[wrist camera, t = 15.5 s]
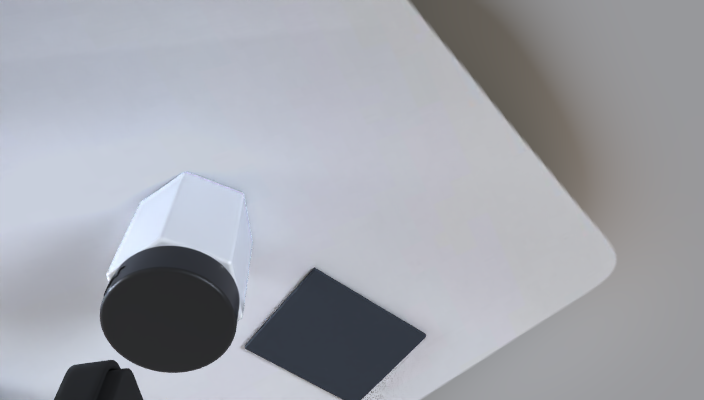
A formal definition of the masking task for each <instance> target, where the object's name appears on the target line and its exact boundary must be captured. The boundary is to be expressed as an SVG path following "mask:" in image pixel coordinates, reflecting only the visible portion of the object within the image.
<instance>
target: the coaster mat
mask: <svg viewBox="0 0 704 400" xmlns="http://www.w3.org/2000/svg"><path fill="white" fill-rule="evenodd" d="M425 337H426V334H425V333H423V332H421V331H420V330H418V329H416V328H415V327H413V326H411V325H410V324H408V323H406V322H405V321H403V320H401V319H400V318H398V317H396V316H395V315H393V314H391V313H390V312H388V311H386V310H385V309H383V308H381V307H380V306H378V305H376V304H374V303H373V302H371V301H369V300H368V299H366V298H364V297H363V296H361V295H359V294H358V293H356V292H354V291H353V290H351V289H349V288H348V287H346V286H344V285H343V284H341V283H339V282H338V281H336V280H334V279H333V278H331V277H329V276H328V275H326V274H324V273H323V272H321V271H319V270H318V269H316V268H314V269H313V270H312V271H311V272H310V273H309V274H308V275H307V277H306V278H305V279H304V280H303V281H302V282H301V283H300V284H299V286H298V287H297V288H296V289H295V290H294V291H293V292H292V293H291V295H290V296H289V297H288V298H287V299H286V300H285V301H284V303H283V304H282V305H281V306H280V307H279V308H278V309H277V310H276V312H275V313H274V314H273V315H272V316H271V317H270V318H269V319H268V321H267V322H266V323H265V324H264V325H263V326H262V327H261V328H260V330H259V331H258V332H257V333H256V334H255V335H254V336H253V337H252V339H251V340H250V341H249V342H248V343H247V344H246V345H245V349H247V350H249V351H251V352H253V353H255V354H257V355H259V356H261V357H262V358H264V359H266V360H268V361H270V362H272V363H274V364H276V365H278V366H280V367H282V368H284V369H286V370H287V371H289V372H291V373H293V374H295V375H297V376H299V377H301V378H303V379H305V380H307V381H309V382H310V383H312V384H314V385H316V386H318V387H320V388H322V389H324V390H326V391H328V392H330V393H332V394H334V395H335V396H337V397H339V398H341V399H343V400H361V399H362V398H363V397H364V396H365V395H366V394H367V393H368V392H370V391H371V390H372V389H373V388H374V387H375V386H376V385H377V384H378V383H379V382H380V381H381V380H382V379H383V378H384V377H385V376H386V375H387V374H388V373H389V372H390V371H391V370H392V369H393V368H394V367H395V366H396V365H397V364H398V363H399V362H401V361H402V360H403V359H404V358H405V357H406V356H407V355H408V354H409V353H410V352H411V351H412V350H413V349H414V348H415V347H416V346H417V345H418V344H419V343H420V342H421V341H422V340H423V339H424V338H425Z"/></svg>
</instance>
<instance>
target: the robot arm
mask: <svg viewBox="0 0 704 400" xmlns="http://www.w3.org/2000/svg"><path fill="white" fill-rule="evenodd" d="M54 400H143V398H142V395H141V393H140V390H139V388H138V385H137V382H136V380H135V377H134V375H133V373H132V371H131V370H130V369H128V368H126V369H121V368H120V367H119V365H118V363H117V362H116V361H114V360H108V361H100V362H93V363H85V364H78V365H73V366H71V367H70V368H69V369H68V371H67V372H66V374H65V376H64V379H63V381H62V383H61V385H60V387H59V390H58V392H57V394H56V396H55V398H54Z"/></svg>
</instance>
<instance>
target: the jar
mask: <svg viewBox="0 0 704 400" xmlns="http://www.w3.org/2000/svg"><path fill="white" fill-rule="evenodd" d="M252 246H253V240H252V235H251V230H250V224H249V219H248V213H247V207H246V202H245V196H244V193H242V192H240V191H238V190H235V189H232V188H230V187H227V186H224V185H222V184H219V183H216V182H214V181H211V180H208V179H206V178H203V177H200V176H198V175H195V174H192V173H190V172H183V173H182V174H180V175H179V176H177V177H176V178H175V179H173V180H172V181H170V182H169V183H167V184H166V185H164V186H163V187H162V188H160V189H159V190H157V191H156V192H154V193H153V194H152V195H150V196H149V197H147V198H146V199H144V200H143V201H141V202H140V203H139V205H138V208H137V210H136V212H135V214H134V216H133V218H132V220H131V223H130V225H129V227H128V229H127V231H126V233H125V235H124V238H123V240H122V242H121V244H120V246H119V248H118V250H117V252H116V255H115V257H114V259H113V261H112V263H111V265H110V267H109V270H108V272H107V278H108V281H109V284H108V286H107V289H106V291H105V293H104V298H103V301H102V304H101V308H100V322H101V327H102V330H103V332H104V335H105V337H106V338H107V340H108V341H109V343H110V344H111V346H112V347H113V348H114V349H115V350H116V351H117V352H118V353H119V354H120V355H122V356H123V357H124V358H126V359H127V360H129V361H131V362H132V363H134V364H136V365H139V366H141V367H144V368H147V369H150V370H154V371H159V372H168V373H178V372H187V371H192V370H196V369H199V368H202V367H204V366H207V365H209V364H211V363H212V362H214V361H215V360H217V359H218V358H219V357H221V356H222V355H223V354H224V353H225V352H226V350H227V349H228V348H229V346H230V345H231V343H232V341H233V339H234V336H235V332H236V326H237V321H239V320H240V319H242V317H243V311H244V304H245V297H246V290H247V282H248V275H249V268H250V260H251V253H252Z"/></svg>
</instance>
